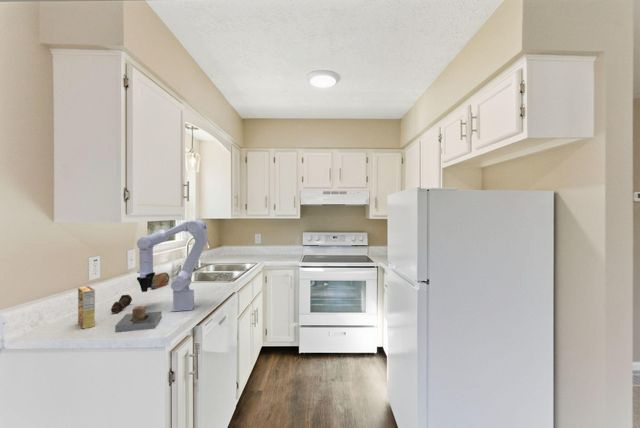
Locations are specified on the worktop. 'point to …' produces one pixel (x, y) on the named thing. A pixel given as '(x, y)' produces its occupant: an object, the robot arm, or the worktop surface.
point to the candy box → (86, 307)
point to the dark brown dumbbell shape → (121, 303)
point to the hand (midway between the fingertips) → (146, 289)
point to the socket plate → (138, 322)
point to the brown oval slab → (160, 280)
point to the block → (139, 313)
